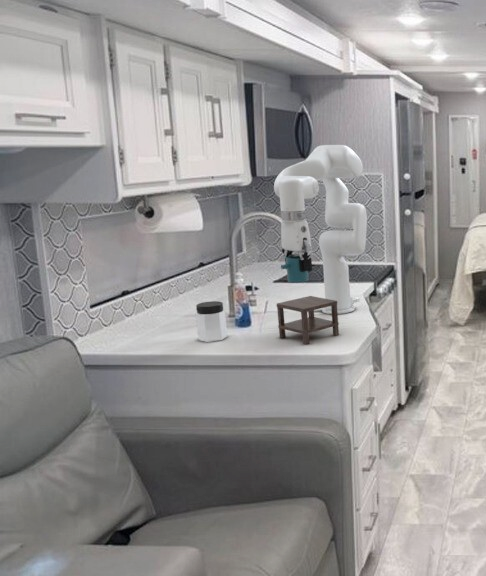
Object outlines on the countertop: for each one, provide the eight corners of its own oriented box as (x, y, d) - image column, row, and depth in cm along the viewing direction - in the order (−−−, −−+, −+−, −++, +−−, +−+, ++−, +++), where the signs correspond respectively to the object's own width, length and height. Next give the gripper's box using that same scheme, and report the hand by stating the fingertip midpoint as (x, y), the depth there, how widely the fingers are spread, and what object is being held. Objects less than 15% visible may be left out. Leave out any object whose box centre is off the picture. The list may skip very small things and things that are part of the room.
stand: (312, 328, 237) (310, 295, 234) (339, 334, 229) (337, 300, 226) (279, 337, 225) (276, 303, 223) (306, 344, 218) (303, 309, 215)
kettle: (305, 276, 228) (303, 251, 226) (318, 278, 225) (316, 253, 223) (277, 282, 219) (275, 256, 217) (289, 284, 216) (287, 258, 214)
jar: (207, 334, 229) (203, 300, 227) (230, 334, 229) (227, 300, 227) (194, 342, 221) (190, 307, 218) (219, 342, 221) (215, 307, 218)
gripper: (320, 216, 215) (323, 271, 219) (286, 213, 225) (290, 265, 229) (300, 219, 210) (304, 274, 213) (267, 215, 219) (271, 269, 223)
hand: (297, 269), depth 221 cm, fingers closed on kettle, 6 cm apart
